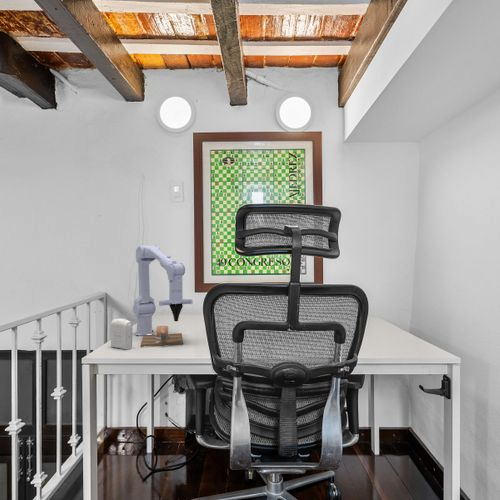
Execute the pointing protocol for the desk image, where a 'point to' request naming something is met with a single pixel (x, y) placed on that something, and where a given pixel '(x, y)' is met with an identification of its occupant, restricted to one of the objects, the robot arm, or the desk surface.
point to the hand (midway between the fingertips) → (176, 321)
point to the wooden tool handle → (162, 331)
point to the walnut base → (162, 340)
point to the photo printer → (121, 334)
